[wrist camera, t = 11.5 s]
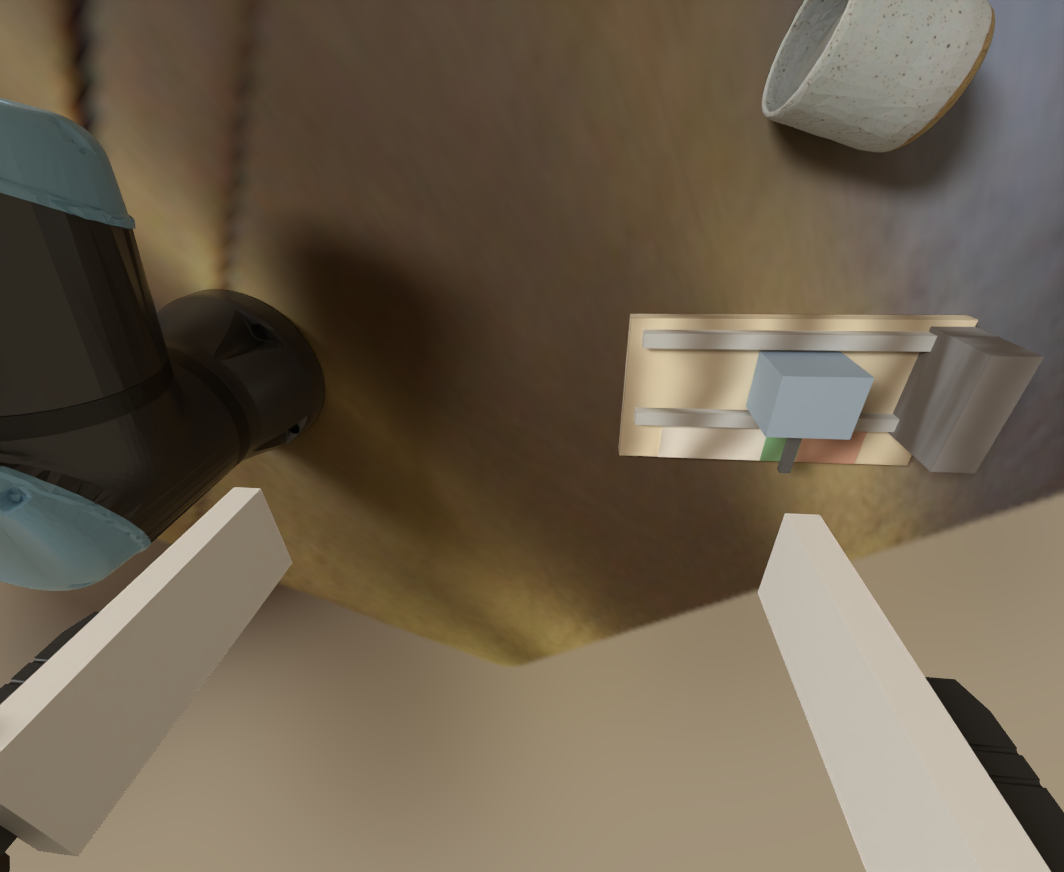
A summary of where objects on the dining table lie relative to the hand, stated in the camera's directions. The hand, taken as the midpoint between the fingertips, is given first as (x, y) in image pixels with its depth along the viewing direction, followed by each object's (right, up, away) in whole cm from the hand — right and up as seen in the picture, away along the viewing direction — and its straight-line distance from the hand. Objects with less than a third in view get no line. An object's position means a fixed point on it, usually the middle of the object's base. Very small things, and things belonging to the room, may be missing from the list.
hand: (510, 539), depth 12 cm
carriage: (+22, +5, +26) cm, 35 cm away
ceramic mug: (+20, +26, +16) cm, 36 cm away
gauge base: (+21, +7, +27) cm, 35 cm away
